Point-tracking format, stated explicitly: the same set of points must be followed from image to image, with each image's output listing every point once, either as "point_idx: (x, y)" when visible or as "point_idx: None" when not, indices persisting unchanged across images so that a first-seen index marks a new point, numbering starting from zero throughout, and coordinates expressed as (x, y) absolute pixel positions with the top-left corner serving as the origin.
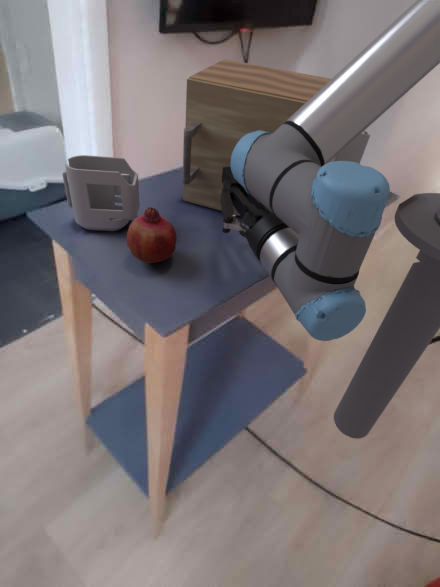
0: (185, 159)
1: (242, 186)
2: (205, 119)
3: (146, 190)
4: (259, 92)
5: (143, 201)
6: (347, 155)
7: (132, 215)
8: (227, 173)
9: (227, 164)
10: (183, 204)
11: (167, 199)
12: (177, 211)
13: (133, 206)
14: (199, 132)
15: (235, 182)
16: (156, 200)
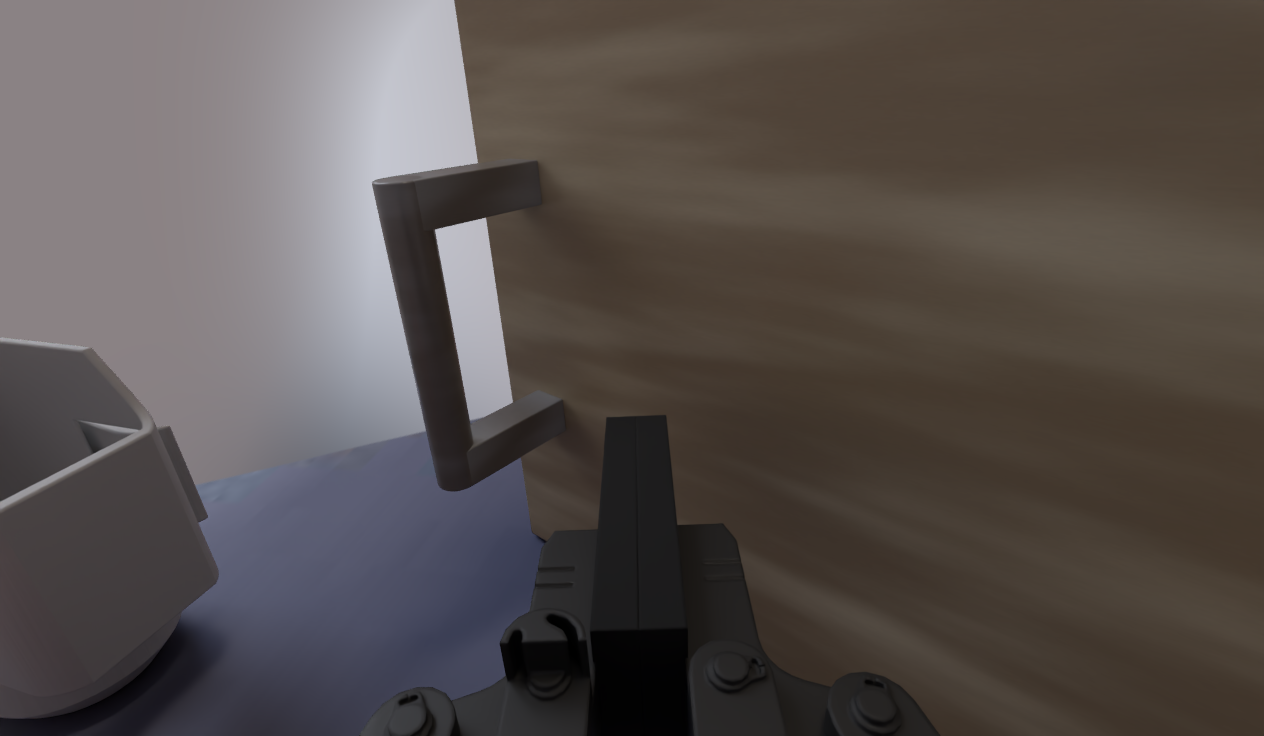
0: (414, 358)
1: (675, 656)
2: (551, 136)
3: (430, 467)
4: None
5: (371, 522)
6: None
7: (44, 681)
8: (602, 476)
9: (688, 390)
10: (522, 554)
11: (474, 519)
12: (465, 599)
13: (29, 635)
14: (538, 216)
15: (556, 638)
16: (426, 521)
